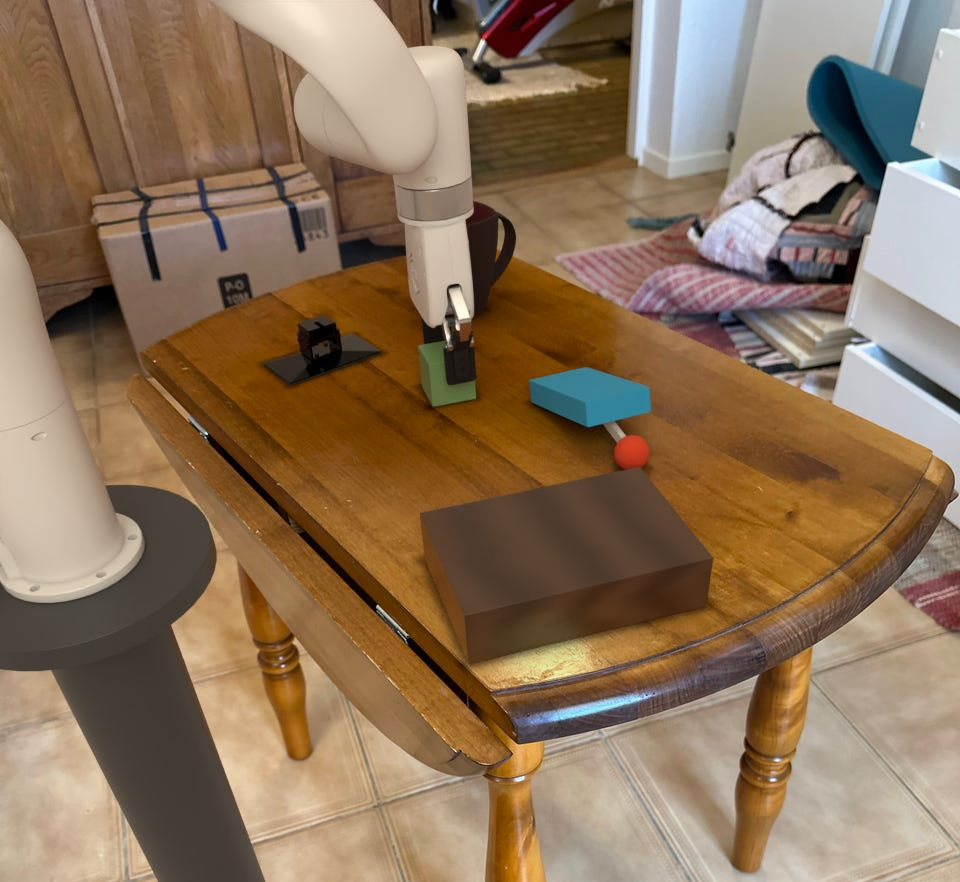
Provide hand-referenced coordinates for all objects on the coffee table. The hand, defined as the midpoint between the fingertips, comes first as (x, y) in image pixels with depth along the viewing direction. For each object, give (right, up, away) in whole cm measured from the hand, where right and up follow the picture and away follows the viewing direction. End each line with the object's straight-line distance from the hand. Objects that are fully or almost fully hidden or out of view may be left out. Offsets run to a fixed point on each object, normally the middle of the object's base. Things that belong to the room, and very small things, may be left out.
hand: (449, 362), depth 102 cm
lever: (+15, -9, -6) cm, 19 cm away
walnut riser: (+10, -26, -24) cm, 36 cm away
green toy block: (0, -3, +2) cm, 4 cm away
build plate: (-16, +3, +10) cm, 19 cm away
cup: (+2, +13, +20) cm, 24 cm away
